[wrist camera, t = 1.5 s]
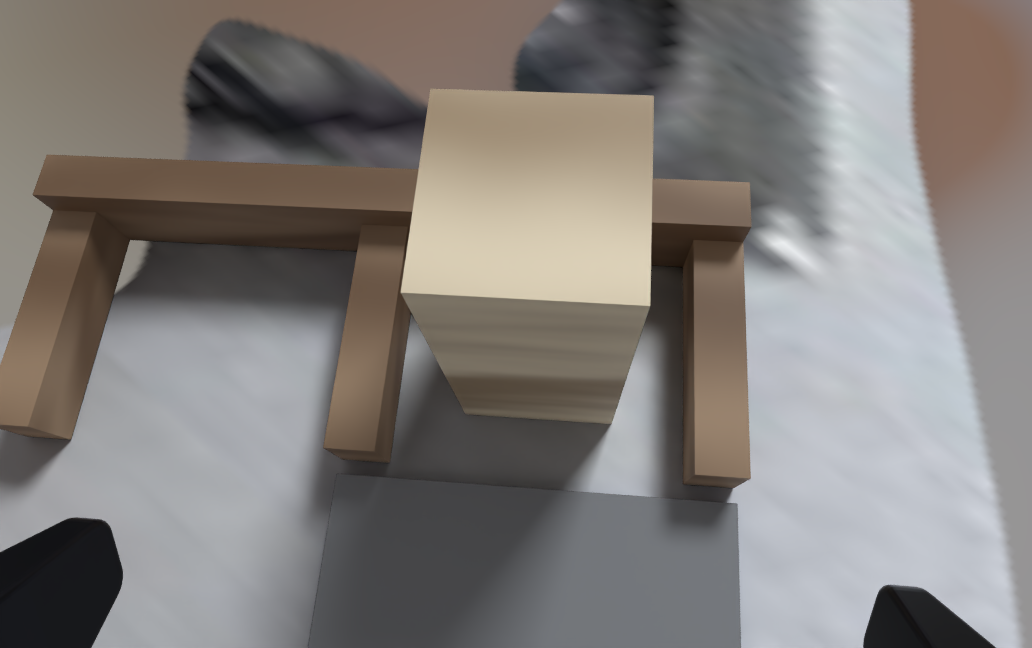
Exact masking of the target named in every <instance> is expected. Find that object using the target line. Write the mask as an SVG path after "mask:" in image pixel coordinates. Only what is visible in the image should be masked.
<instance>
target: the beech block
mask: <svg viewBox="0 0 1032 648" xmlns="http://www.w3.org/2000/svg"><path fill="white" fill-rule="evenodd" d="M653 120H654V96H648V95H615V94H583V93H550V92H518V91H485V90H452V89H430V97H429V103H428V110H427V116H426V123H425V130H424V137H423V144H422V150H421V157H420V164H419V171H418V178H417V184H416V191H415V198H414V205H413V212H412V218H411V225H410V232H409V239H408V246H407V252H406V259H405V266H404V273H403V280H402V286H401V294H402V296H403V298H404V300H405V302H406V304H407V305H408V307H409V309H410V311H411V313H412V315H413V317H414V319H415V320H416V322H417V324H418V326H419V328H420V330H421V332H422V334H423V335H424V337H425V339H426V341H427V343H428V345H429V347H430V349H431V350H432V352H433V354H434V356H435V358H436V360H437V362H438V364H439V365H440V367H441V369H442V371H443V373H444V375H445V377H446V379H447V380H448V382H449V384H450V386H451V388H452V390H453V392H454V394H455V395H456V397H457V399H458V401H459V403H460V405H461V407H462V409H463V410H464V412H465V414H467V415H482V416H497V417H512V418H526V419H541V420H556V421H571V422H586V423H601V424H612V421H613V418H614V415H615V412H616V409H617V406H618V403H619V400H620V396H621V393H622V390H623V387H624V384H625V381H626V378H627V375H628V372H629V369H630V366H631V363H632V360H633V357H634V354H635V351H636V348H637V345H638V342H639V339H640V336H641V333H642V330H643V327H644V324H645V320H646V317H647V314H648V311H649V308H650V293H651V235H652V177H653Z"/></svg>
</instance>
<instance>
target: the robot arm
mask: <svg viewBox="0 0 1032 648" xmlns="http://www.w3.org/2000/svg"><path fill="white" fill-rule="evenodd" d="M122 580H123V570H122V565H121V562H120V558H119V555H118V551H117V548H116V544H115V541H114V537H113V534H112V530H111V528H110V526H109V525H108V524H107V523H106V522H105V521H103V520H100V519H90V518H69V519H66V520H64V521H62V522H60V523H58V524H56V525H54V526H52V527H50V528H48V529H46V530H44V531H42V532H40V533H38V534H36V535H34V536H32V537H30V538H28V539H26V540H24V541H22V542H20V543H18V544H16V545H14V546H12V547H10V548H8V549H6V550H4V551H2V552H0V648H91V647H92V645H93V643H94V641H95V639H96V637H97V635H98V633H99V631H100V629H101V627H102V625H103V623H104V622H105V620H106V618H107V616H108V614H109V612H110V610H111V608H112V606H113V604H114V602H115V600H116V598H117V596H118V594H119V591H120V589H121V585H122ZM863 648H996V647H995V646H993V645H992V644H991V643H990V642H989V641H987V640H986V639H985V638H984V637H982V636H981V635H980V634H979V633H978V632H976V631H975V630H974V629H973V628H972V627H970V626H969V625H968V624H967V623H965V622H964V621H963V620H962V619H961V618H959V617H958V616H957V615H956V614H955V613H953V612H952V611H951V610H950V609H948V608H947V607H946V606H945V605H944V604H942V603H941V602H940V601H939V600H938V599H936V598H935V597H934V596H933V595H931V594H930V593H929V592H927V591H926V590H924V589H922V588H918V587H911V586H899V585H886V586H883V587H882V588H881V589H880V590H879V592H878V594H877V597H876V601H875V604H874V607H873V610H872V613H871V617H870V620H869V623H868V626H867V629H866V633H865V637H864V644H863Z"/></svg>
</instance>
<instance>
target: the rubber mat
mask: <svg viewBox="0 0 1032 648" xmlns="http://www.w3.org/2000/svg"><path fill="white" fill-rule="evenodd" d="M308 648H741V627H740V588H739V548H738V508H737V504H736V503H723V502H709V501H696V500H683V499H669V498H656V497H643V496H629V495H616V494H603V493H589V492H576V491H562V490H549V489H536V488H522V487H509V486H496V485H482V484H469V483H456V482H442V481H429V480H415V479H402V478H389V477H375V476H362V475H349V474H336V480H335V486H334V492H333V498H332V504H331V510H330V516H329V523H328V529H327V535H326V541H325V547H324V553H323V559H322V565H321V571H320V577H319V583H318V589H317V595H316V601H315V607H314V614H313V620H312V626H311V632H310V638H309V644H308Z"/></svg>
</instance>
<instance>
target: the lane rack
mask: <svg viewBox="0 0 1032 648" xmlns="http://www.w3.org/2000/svg"><path fill="white" fill-rule="evenodd" d="M418 171H419V169H395V168H370V167H345V166H320V165H294V164H269V163H244V162H219V161H193V160H168V159H142V158H118V157H115V158H114V157H92V156H67V155H47V156H46V159H45V161H44V164H43V167H42V170H41V173H40V175H39V178H38V181H37V184H36V187H35V189H34V192H33V196H35V197H36V198H37V199H39V200H40V201H42V202H43V203H44V204H46V205H47V206H48V207H50V208H51V209H52V210H53V213H52V216H51V219H50V221H49V224H48V227H47V230H46V233H45V236H44V239H43V242H42V245H41V248H40V251H39V254H38V257H37V259H36V262H35V266H34V269H33V271H32V274H31V277H30V280H29V283H28V286H27V289H26V292H25V295H24V297H23V300H22V303H21V307H20V309H19V312H18V315H17V318H16V321H15V324H14V327H13V330H12V333H11V336H10V338H9V341H8V344H7V347H6V350H5V353H4V356H3V359H2V362H1V365H0V429H3V430H6V431H10V432H13V433H17V434H20V435H24V436H28V437H42V438H55V439H69V440H71V438H72V434H73V431H74V428H75V424H76V421H77V417H78V414H79V411H80V407H81V404H82V401H83V397H84V394H85V390H86V387H87V384H88V380H89V377H90V373H91V370H92V367H93V363H94V360H95V357H96V353H97V350H98V346H99V343H100V340H101V336H102V333H103V329H104V326H105V323H106V319H107V316H108V313H109V309H110V306H111V302H112V299H113V296H114V292H115V289H116V286H117V282H118V278H119V275H120V272H121V269H122V265H123V262H124V258H125V255H126V252H127V248H128V245H129V242H130V240H143V241H163V242H184V243H204V244H224V245H245V246H265V247H285V248H306V249H326V250H346V251H357V255H356V261H355V267H354V272H353V278H352V284H351V290H350V296H349V301H348V307H347V313H346V319H345V324H344V330H343V336H342V342H341V347H340V353H339V359H338V365H337V371H336V376H335V382H334V388H333V394H332V399H331V405H330V411H329V417H328V422H327V428H326V434H325V440H324V446H323V448H324V449H326V450H328V451H329V452H331V453H333V454H334V455H336V456H338V457H339V458H341V459H343V460H356V461H370V462H384V463H390V458H391V451H392V444H393V437H394V430H395V423H396V416H397V408H398V401H399V394H400V387H401V380H402V373H403V366H404V359H405V351H406V344H407V337H408V330H409V323H410V316H411V311H410V309H409V307H408V305H407V304H406V302H405V300H404V298H403V296H402V294H401V286H402V280H403V273H404V266H405V259H406V252H407V246H408V239H409V232H410V225H411V218H412V212H413V205H414V198H415V191H416V184H417V178H418ZM750 228H751V203H750V183H749V182H724V181H698V180H673V179H652V235H651V266H671V267H683V484H684V485H698V486H712V487H725V488H735V487H737V486H738V485H740V484H742V483H744V482H745V481H747V480H749V479H751V475H750V443H749V412H748V380H747V348H746V317H745V285H744V254H743V241H744V240H745V238H746V236H747V234H748V232H749V230H750Z"/></svg>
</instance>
